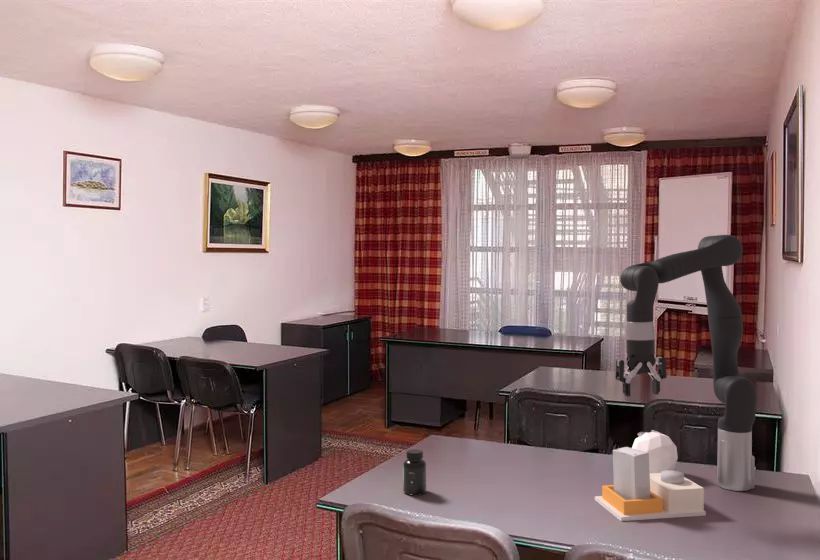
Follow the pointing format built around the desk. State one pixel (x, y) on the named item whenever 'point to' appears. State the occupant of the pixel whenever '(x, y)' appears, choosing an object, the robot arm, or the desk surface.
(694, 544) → the desk surface
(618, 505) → the box holder with button
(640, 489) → the skincare box
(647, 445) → the geodesic sphere
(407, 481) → the supplement bottle
